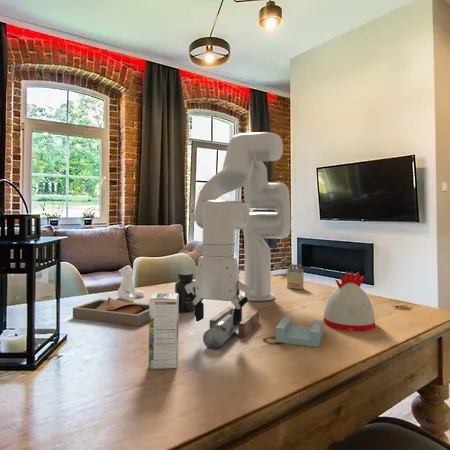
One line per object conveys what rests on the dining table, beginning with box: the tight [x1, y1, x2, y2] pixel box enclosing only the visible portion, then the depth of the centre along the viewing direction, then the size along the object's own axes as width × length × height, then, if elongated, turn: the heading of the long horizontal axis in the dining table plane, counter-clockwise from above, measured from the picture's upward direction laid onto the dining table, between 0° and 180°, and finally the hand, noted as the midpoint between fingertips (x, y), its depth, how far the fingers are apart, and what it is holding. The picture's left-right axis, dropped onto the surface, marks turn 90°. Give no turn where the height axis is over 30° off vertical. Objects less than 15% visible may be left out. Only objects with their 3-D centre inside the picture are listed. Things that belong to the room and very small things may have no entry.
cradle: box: [275, 316, 324, 348], centre depth 93 cm, size 10×10×4 cm
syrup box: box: [148, 291, 180, 370], centre depth 77 cm, size 6×6×14 cm
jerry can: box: [286, 263, 305, 290], centre depth 153 cm, size 7×4×10 cm, turn 60°
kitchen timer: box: [323, 271, 376, 332], centre depth 105 cm, size 14×14×15 cm
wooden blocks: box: [209, 306, 260, 338], centre depth 101 cm, size 14×10×4 cm
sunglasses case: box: [96, 297, 146, 323], centre depth 112 cm, size 18×7×7 cm, turn 54°
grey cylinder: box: [202, 315, 238, 351], centre depth 92 cm, size 13×5×5 cm, turn 160°
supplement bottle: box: [174, 271, 195, 313], centre depth 119 cm, size 7×7×12 cm
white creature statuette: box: [117, 265, 145, 303], centre depth 135 cm, size 10×9×12 cm
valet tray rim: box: [72, 298, 149, 328], centre depth 112 cm, size 12×23×3 cm, turn 69°
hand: (217, 322), depth 89 cm, fingers open, 9 cm apart
